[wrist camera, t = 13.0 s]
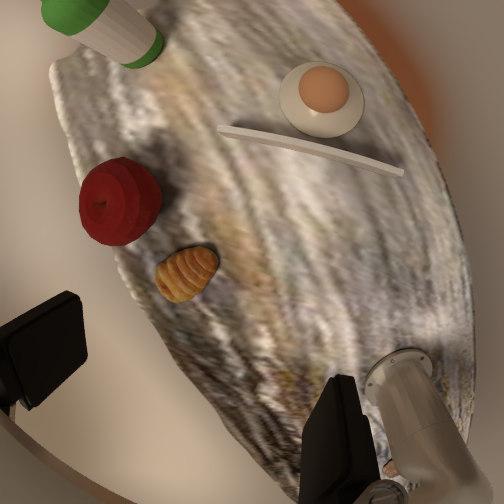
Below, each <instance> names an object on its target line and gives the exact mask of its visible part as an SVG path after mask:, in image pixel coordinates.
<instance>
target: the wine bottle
mask: <svg viewBox="0 0 504 504" xmlns="http://www.w3.org/2000/svg"><path fill="white" fill-rule="evenodd" d="M41 1H42V8H41V12H42V17H43V20H44V22H45V23H46V24H47V25H48V26H49V27H51V28H52V29H54V30H56V31H59V32H61V33H63V34H65V35H67V36H69V37H71V38H73V39H75V40H77V41H79V42H81V43H82V44H84V45H86V46H88V47H90V48H92V49H94V50H96V51H98V52H99V53H101V54H103V55H105V56H107V57H109V58H110V59H112V60H114V61H116V62H117V63H119V64H121V65H123V66H125V67H127V68H131V69H135V68H140V67H144V66H145V65H147V64H149V63H150V62H152V61H153V60H154V59H155V58H156V57H157V56H158V54H159V52H160V51H161V48H162V46H163V39H162V35H161V34H160V32H159V31H158V30H157V29H156V28H155V27H154V26H153V25H152V24H151V23H150V22H149V21H148V20H147V19H146V18H144V17H143V16H142V15H141V14H140V13H139V12H138V11H137V10H136V9H135V8H133V7H132V6H131V5H130V4H129V3H128V2H127V1H125V0H41Z"/></svg>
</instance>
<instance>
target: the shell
mask: <svg viewBox="0 0 504 504" xmlns="http://www.w3.org/2000/svg"><path fill="white" fill-rule="evenodd" d="M382 471H383V473H384V474H386V475H387V476H388V477H389V478H393V477H395V476H398V475H399V474H398V472H397V471H396V469H395V467H394V464H393V460H392V459H390V460H389V461H388V462H387V463H386V464H385V465H384V466H383V469H382Z"/></svg>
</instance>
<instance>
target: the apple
mask: <svg viewBox="0 0 504 504" xmlns="http://www.w3.org/2000/svg"><path fill="white" fill-rule="evenodd" d="M161 206H162V193H161V189H160V186H159V184H158V182H157V180H156V179H155V177H154V176H153V175H152V174H151V173H150V172H149V171H148V170H147V168H145V167H144V166H142V165H140V164H138V163H136V162H134V161H132V160H130V159H127V158H125V157H120V158H115V159H110V160H108V161H106V162H104V163H101V164H100V165H98V166H97V167H95V168H94V169H92V170H91V171H90V172H89V174H88V175H87V176H86V178H85V179H84V181H83V183H82V187H81V191H80V195H79V213H80V218H81V222H82V226H83V227H84V229H85V230H86V231H87V233H88V234H89V235H90V237H91V238H93V239H95V240H96V241H98V242H99V243H101V244H104V245H108V246H125V245H127V244H129V243H131V242H133V241H135V240H137V239H138V238H139V237H140V236H141V235H143V234H144V233H145V232H146V231H147V230H148V229H149V228H150V227H151V226H152V225H153V224H154V223H155V221H156V218H157V215H158V213H159V210H160V208H161Z"/></svg>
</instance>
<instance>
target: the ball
mask: <svg viewBox="0 0 504 504" xmlns="http://www.w3.org/2000/svg"><path fill="white" fill-rule="evenodd" d="M298 90H299V95H300V97H301V99H302V101H303V102H304V104H305V105H306V106H307V107H309V108H310V109H312V110H314V111H316V112H319V113H332V112H335V111H338V110H339V109H341V108H342V107H343V106H344V105H345V103H346V102H347V100H348V97H349V86H348V83H347V81H346V79H345V78H344V76H343V75H342V74H341V73H340V72H338V71H337V70H335V69H333V68H331V67H327V66H317V67H313V68H311V69H309V70H308V71H306V72H305V73H304V74H303V75H302V77H301V79H300V81H299V86H298Z"/></svg>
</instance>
